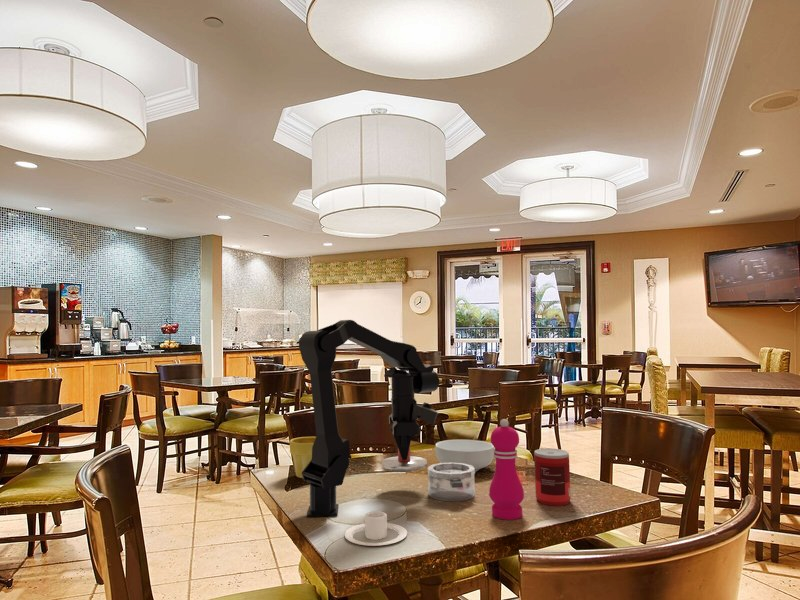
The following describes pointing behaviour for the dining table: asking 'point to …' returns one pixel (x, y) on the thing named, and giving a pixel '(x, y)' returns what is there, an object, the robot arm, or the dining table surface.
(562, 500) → the canned food
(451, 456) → the cereal bowl
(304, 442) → the plant pot
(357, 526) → the candle holder
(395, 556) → the dining table surface
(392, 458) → the lid
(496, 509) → the pepper mill
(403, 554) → the dining table surface
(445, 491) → the pot
